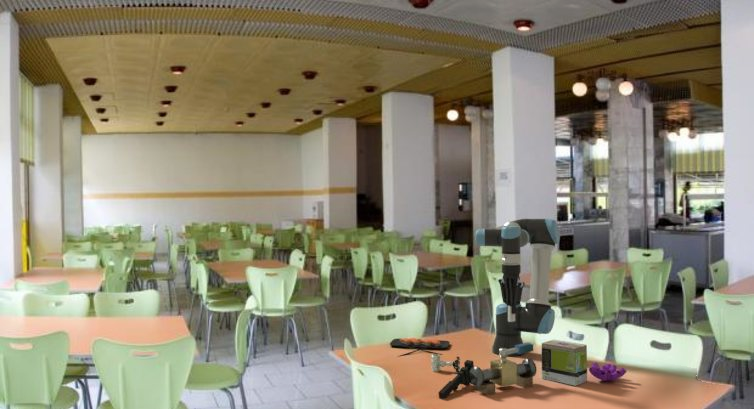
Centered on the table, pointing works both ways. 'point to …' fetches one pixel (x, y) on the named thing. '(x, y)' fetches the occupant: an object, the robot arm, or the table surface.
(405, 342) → the sushi plate
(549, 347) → the tea box
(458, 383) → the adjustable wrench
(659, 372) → the table surface
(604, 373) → the purple lumpy cluster
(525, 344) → the lever
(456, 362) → the valve
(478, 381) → the pipe run
